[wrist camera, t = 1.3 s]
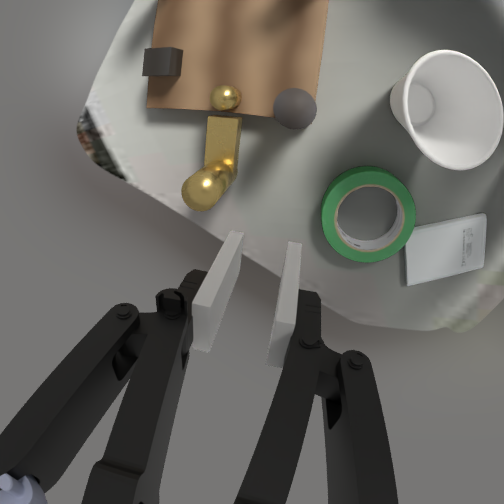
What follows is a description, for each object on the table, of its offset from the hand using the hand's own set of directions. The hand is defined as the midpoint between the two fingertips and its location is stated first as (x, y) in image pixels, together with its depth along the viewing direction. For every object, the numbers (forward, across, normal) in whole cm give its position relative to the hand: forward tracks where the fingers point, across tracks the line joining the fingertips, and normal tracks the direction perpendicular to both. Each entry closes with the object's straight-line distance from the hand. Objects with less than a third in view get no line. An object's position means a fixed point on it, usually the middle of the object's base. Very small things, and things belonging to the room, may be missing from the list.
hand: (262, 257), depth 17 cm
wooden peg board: (+19, -7, +16) cm, 25 cm away
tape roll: (+19, +10, -2) cm, 22 cm away
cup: (+19, +13, +12) cm, 25 cm away
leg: (+16, -7, +4) cm, 17 cm away
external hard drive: (+19, +23, -5) cm, 30 cm away
